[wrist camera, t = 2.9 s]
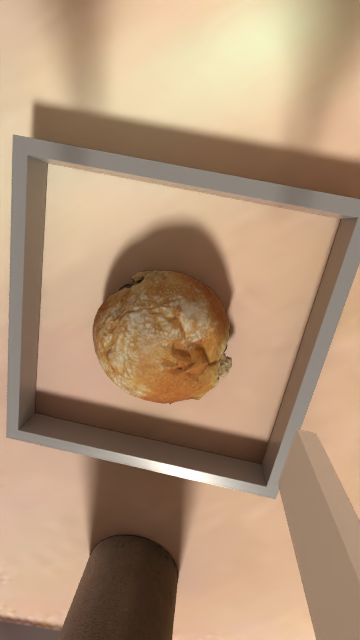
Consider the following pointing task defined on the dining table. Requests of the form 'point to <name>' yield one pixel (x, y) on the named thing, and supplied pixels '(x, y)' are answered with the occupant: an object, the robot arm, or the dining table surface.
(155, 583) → the pillar candle
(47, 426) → the rectangular frame
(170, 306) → the bread roll
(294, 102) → the dining table surface
